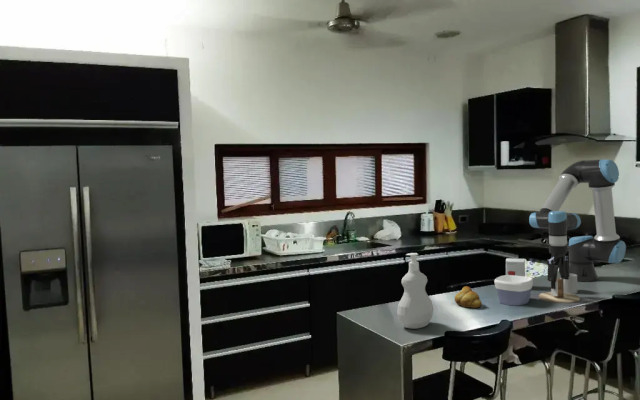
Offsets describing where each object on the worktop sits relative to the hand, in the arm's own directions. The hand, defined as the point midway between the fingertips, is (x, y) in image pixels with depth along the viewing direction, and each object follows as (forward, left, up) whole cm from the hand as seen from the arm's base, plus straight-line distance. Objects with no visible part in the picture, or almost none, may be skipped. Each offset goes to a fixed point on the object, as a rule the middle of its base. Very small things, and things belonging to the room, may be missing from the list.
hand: (558, 294), depth 226 cm
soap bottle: (+77, -13, -3) cm, 78 cm away
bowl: (+19, -10, -3) cm, 22 cm away
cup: (-16, -4, -3) cm, 17 cm away
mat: (0, 0, -2) cm, 2 cm away
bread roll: (+39, -20, -3) cm, 44 cm away
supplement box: (-4, -26, -3) cm, 26 cm away
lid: (0, 0, -2) cm, 2 cm away
